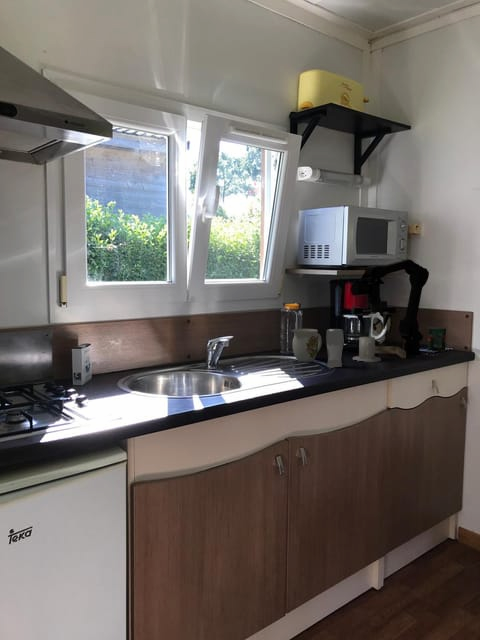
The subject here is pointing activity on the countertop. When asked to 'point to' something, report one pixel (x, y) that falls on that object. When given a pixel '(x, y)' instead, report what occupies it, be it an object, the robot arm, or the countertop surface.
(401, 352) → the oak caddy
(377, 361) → the grey trivet
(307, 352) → the pitcher
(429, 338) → the canned tomato
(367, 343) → the cream jug
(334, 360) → the beer glass
